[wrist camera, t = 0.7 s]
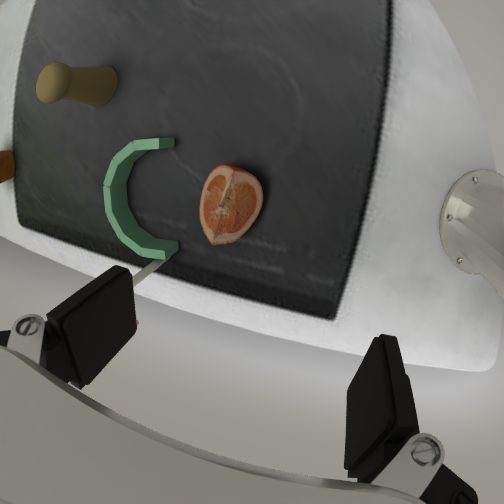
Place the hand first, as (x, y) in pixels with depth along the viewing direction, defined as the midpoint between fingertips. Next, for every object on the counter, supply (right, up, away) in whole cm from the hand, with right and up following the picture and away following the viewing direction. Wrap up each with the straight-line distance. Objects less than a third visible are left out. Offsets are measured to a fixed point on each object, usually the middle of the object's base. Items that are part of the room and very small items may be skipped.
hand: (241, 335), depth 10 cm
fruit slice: (-2, +9, +23) cm, 25 cm away
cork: (-21, +26, +21) cm, 39 cm away
